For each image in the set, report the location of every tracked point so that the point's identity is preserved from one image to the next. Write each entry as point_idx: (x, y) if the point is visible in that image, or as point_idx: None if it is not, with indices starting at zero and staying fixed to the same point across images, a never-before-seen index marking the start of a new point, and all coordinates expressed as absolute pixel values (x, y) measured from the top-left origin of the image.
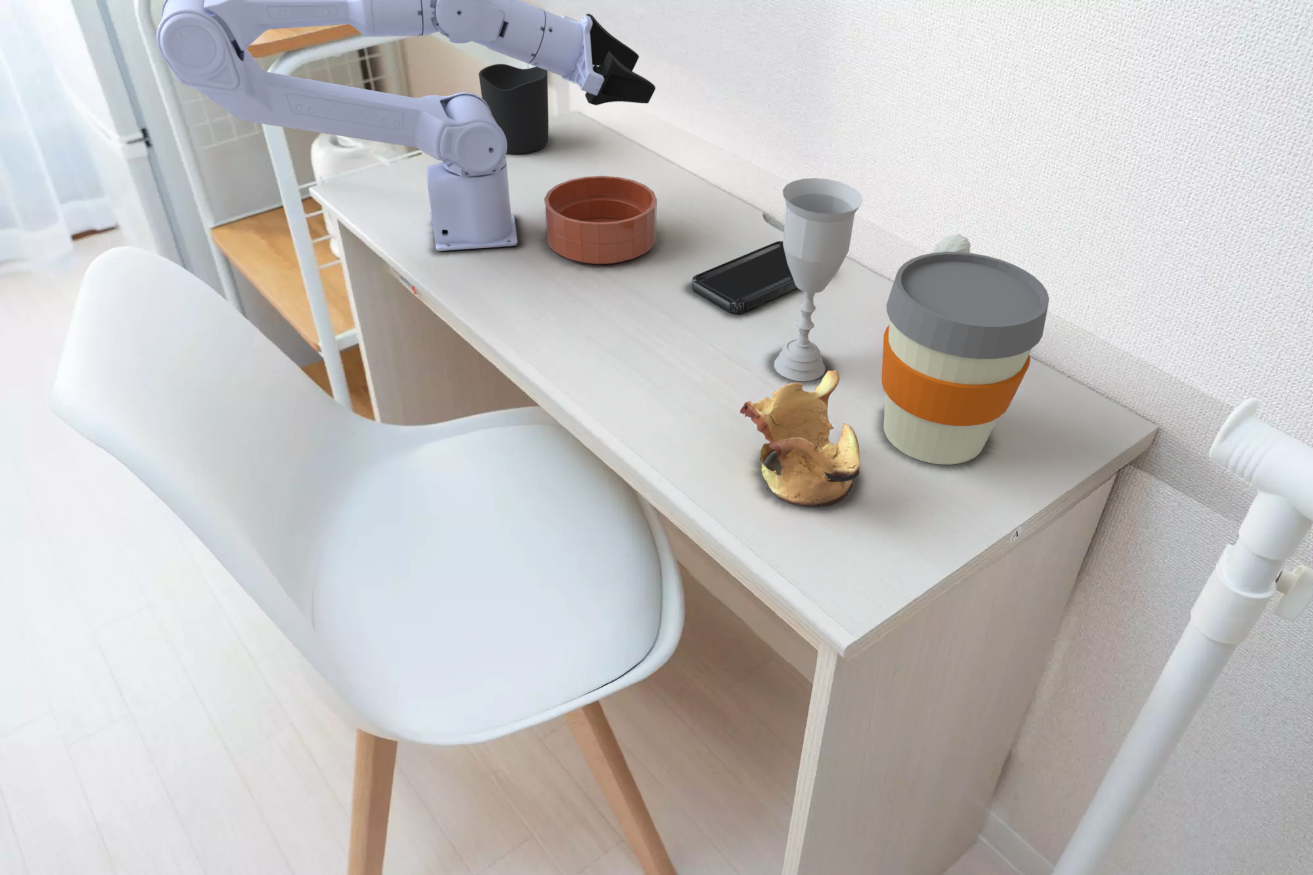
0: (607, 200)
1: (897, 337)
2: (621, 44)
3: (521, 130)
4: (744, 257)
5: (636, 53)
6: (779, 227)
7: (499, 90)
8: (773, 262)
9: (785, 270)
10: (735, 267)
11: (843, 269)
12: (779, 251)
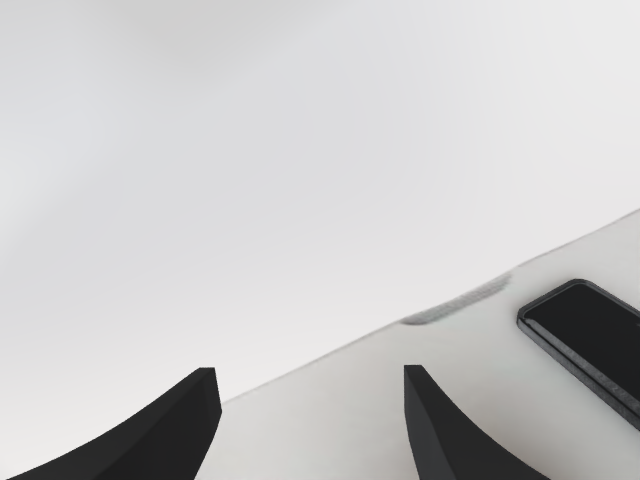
0: None
1: None
2: (174, 405)
3: None
4: (585, 371)
5: (199, 370)
6: (443, 313)
7: None
8: (592, 336)
9: (616, 326)
10: (631, 392)
11: (558, 271)
12: (550, 322)
